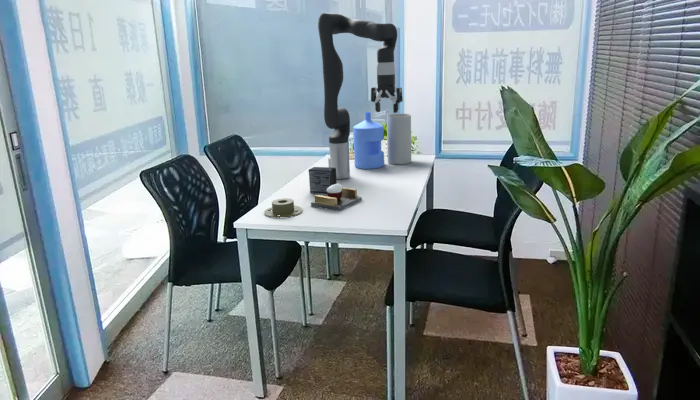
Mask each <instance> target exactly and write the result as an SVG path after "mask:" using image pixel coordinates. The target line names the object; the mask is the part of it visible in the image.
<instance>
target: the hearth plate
mask: <svg viewBox="0 0 700 400" xmlns="http://www.w3.org/2000/svg"><path fill="white" fill-rule="evenodd" d="M361 200H362V201H363V197H362V196H358V189H356V188H351V187H344V186H342V197H341V198H340V199H339V200H337V198H334V197H328V196H327V195H320V194H315V195H314V200H313V201H310V206H311V207H313V206H315V207H314V208H319V207H321V208H320V209H325V208H327V210H331V209H334V210H333V211H336V210H340V211H342V210H344V209H347V208H349V207H350V206H353V205H356V204H358V203H360V202H361ZM348 206H349V207H348ZM346 207H347V208H346Z"/></svg>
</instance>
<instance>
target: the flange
mask: <svg viewBox="0 0 700 400" xmlns="http://www.w3.org/2000/svg"><path fill="white" fill-rule="evenodd" d="M303 209H304V208H303V207H301V206H299V205H295V202H294V199H292V198H277V199H275V200H273V201H271V207H268V208H267V209H265V210H264V211H263V213H264V214H265V215H266V216H265V215H264V216H265V217H267V216H269V217H268V218H271V217H276V218H275V219H281V218H280V217H288V218H292V217H291V216H293V217H295V215H296V216H298V214H299V215H301V214H302V213H303V212H302V211H303ZM269 210H272V211H269ZM297 211H299V212H297ZM301 212H302V213H301ZM300 213H301V214H300ZM277 215H280V216H277ZM277 217H279V218H277Z"/></svg>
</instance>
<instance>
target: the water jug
mask: <svg viewBox="0 0 700 400" xmlns="http://www.w3.org/2000/svg"><path fill="white" fill-rule="evenodd" d="M371 113H372V112H371V111H365V112H364V120H362V121H361V122H359V123H357V124H356V125H354V126H353V129H352V132H353V133H352V134H353V151H354V154H353V155H354V166H355V168H357V169H360V170H375V169H380V168H383V167H384V166H385V152H384V151H383V150H382V141H383V140H384V133H385V130H384V126H383V125H382V124H381V123H379V122H376V121H374V120H372V114H371Z"/></svg>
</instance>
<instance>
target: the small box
mask: <svg viewBox="0 0 700 400" xmlns="http://www.w3.org/2000/svg"><path fill="white" fill-rule="evenodd" d="M308 176H309V178H308V180H309V182H308V183H309V193H311V194H312V193H313V194H327V191H326V190H327V188H328V187H330V186H331V185H333V183H332V167H329V166H328V167H327V166H313V167H311V168H309V169H308Z"/></svg>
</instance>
